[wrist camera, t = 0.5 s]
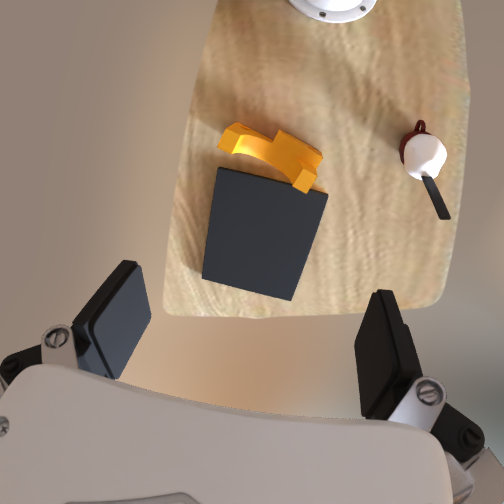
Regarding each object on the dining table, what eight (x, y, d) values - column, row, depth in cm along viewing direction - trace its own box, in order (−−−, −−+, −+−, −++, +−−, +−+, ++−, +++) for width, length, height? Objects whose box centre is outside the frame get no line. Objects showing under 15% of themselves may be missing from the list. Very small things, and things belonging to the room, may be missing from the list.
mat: (219, 166, 41) (217, 168, 41) (328, 193, 41) (328, 195, 40) (202, 275, 52) (201, 278, 52) (291, 298, 52) (291, 301, 51)
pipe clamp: (321, 152, 38) (325, 164, 33) (305, 178, 40) (306, 194, 35) (242, 110, 37) (232, 115, 31) (228, 138, 39) (216, 147, 34)
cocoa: (406, 113, 33) (443, 126, 23) (441, 132, 33) (485, 153, 23) (382, 172, 38) (409, 205, 28) (417, 188, 38) (450, 225, 28)
